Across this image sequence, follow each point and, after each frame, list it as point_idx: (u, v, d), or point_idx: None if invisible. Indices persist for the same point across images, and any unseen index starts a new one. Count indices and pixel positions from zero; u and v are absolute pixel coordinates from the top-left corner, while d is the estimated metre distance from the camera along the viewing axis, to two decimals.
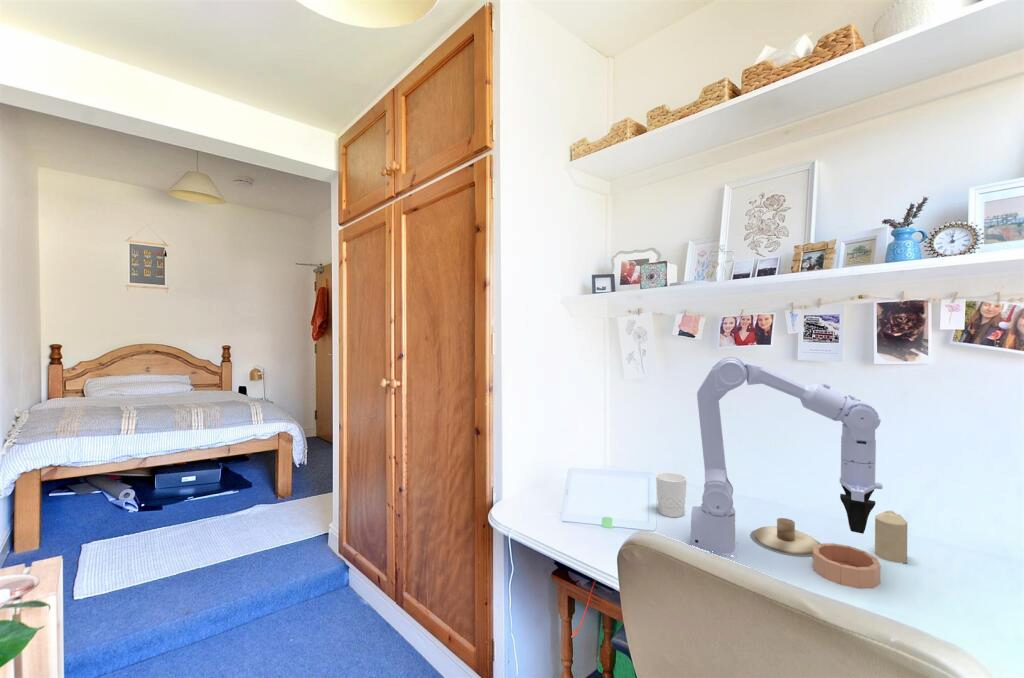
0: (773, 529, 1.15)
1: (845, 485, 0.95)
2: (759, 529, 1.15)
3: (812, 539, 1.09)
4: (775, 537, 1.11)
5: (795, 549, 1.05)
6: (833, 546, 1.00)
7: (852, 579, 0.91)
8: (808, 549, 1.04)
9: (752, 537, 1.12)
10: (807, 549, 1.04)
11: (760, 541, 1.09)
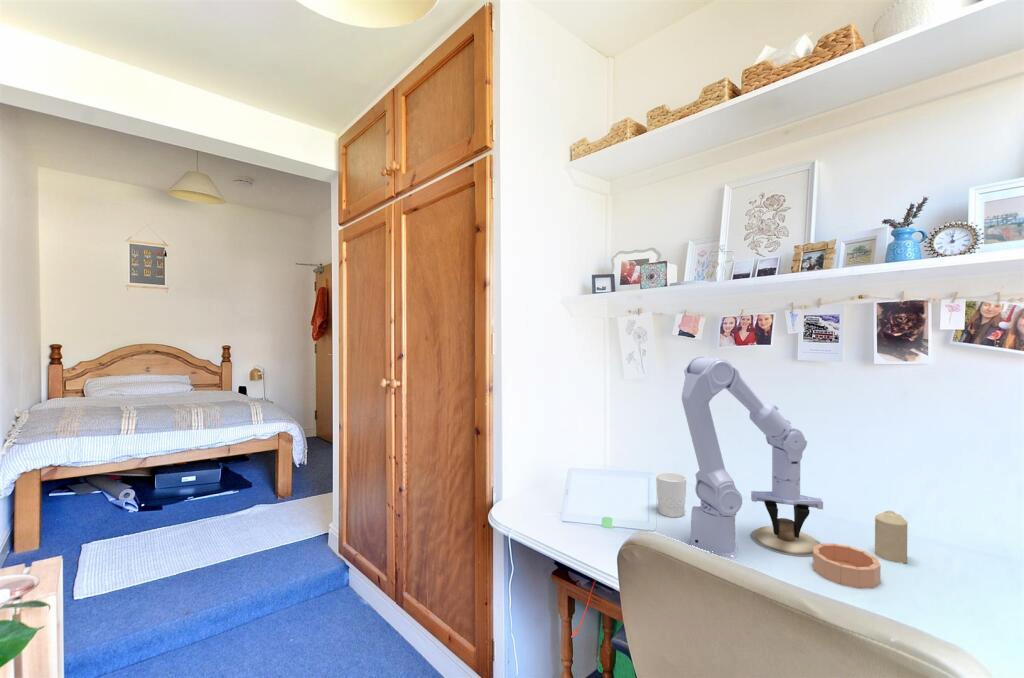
0: None
1: None
2: (759, 529, 1.15)
3: (812, 539, 1.09)
4: (775, 537, 1.11)
5: (795, 549, 1.05)
6: (833, 546, 1.00)
7: (852, 579, 0.91)
8: (808, 549, 1.04)
9: (752, 537, 1.12)
10: (807, 549, 1.04)
11: (760, 541, 1.09)
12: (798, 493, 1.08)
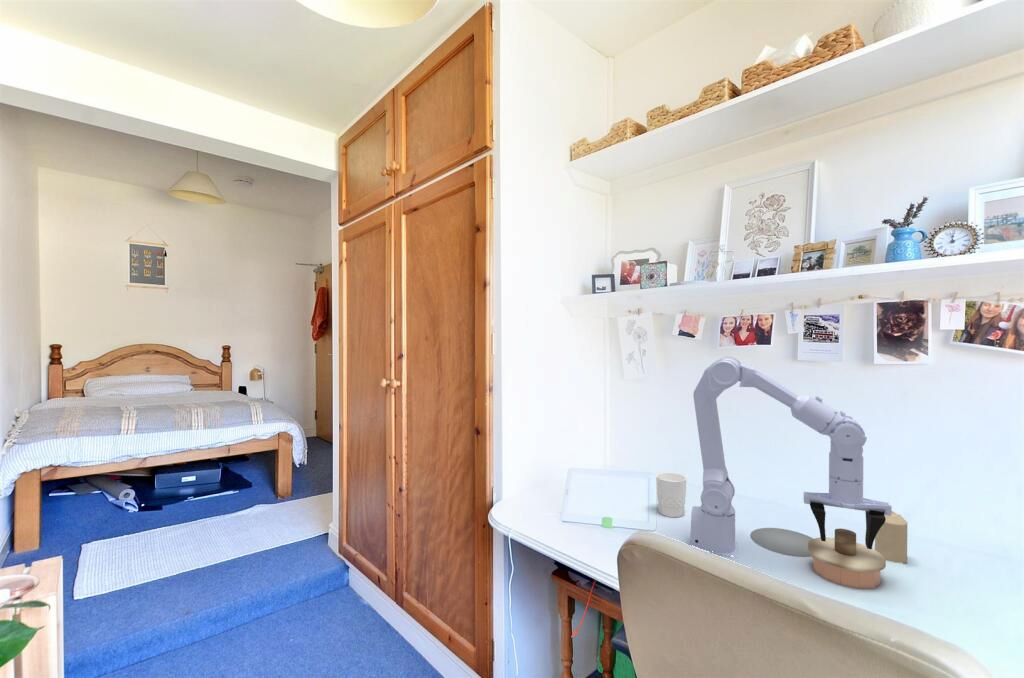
0: (829, 541, 1.01)
1: None
2: (813, 540, 1.01)
3: (877, 554, 0.95)
4: (832, 550, 0.96)
5: (858, 565, 0.90)
6: None
7: (852, 579, 0.91)
8: (873, 566, 0.90)
9: (752, 537, 1.12)
10: (872, 566, 0.90)
11: (815, 554, 0.95)
12: (860, 496, 0.93)
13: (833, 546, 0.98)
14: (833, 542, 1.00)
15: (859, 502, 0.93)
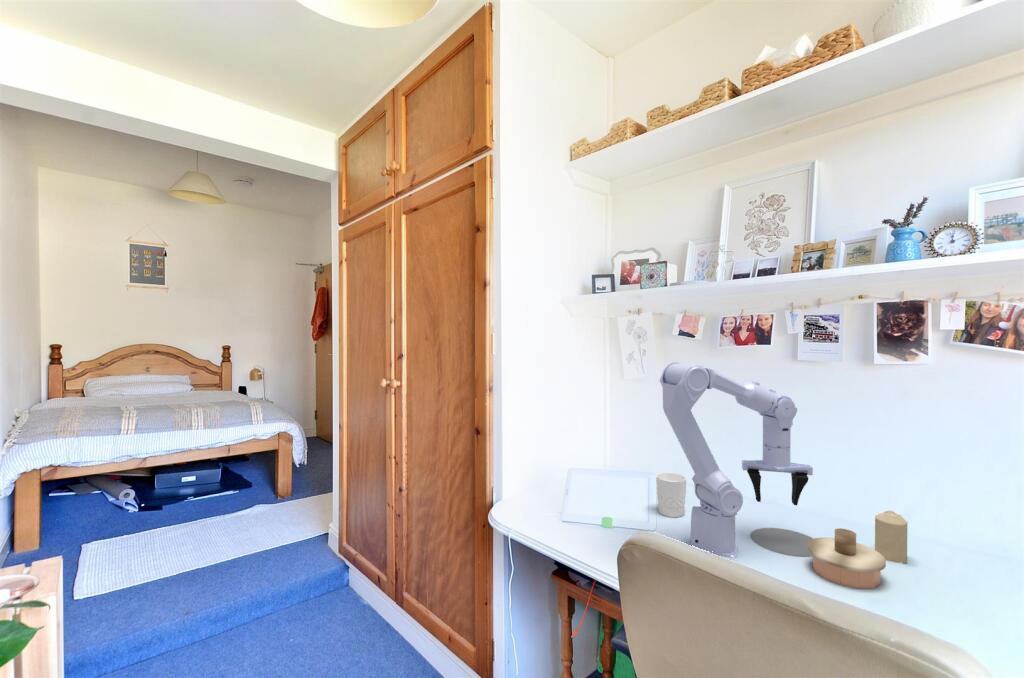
0: (829, 541, 1.01)
1: None
2: (813, 540, 1.01)
3: (877, 554, 0.95)
4: (832, 550, 0.96)
5: (858, 565, 0.90)
6: None
7: (852, 579, 0.91)
8: (873, 566, 0.90)
9: (752, 537, 1.12)
10: (872, 566, 0.90)
11: (815, 554, 0.95)
12: (789, 460, 1.08)
13: (833, 546, 0.98)
14: (833, 542, 1.00)
15: (787, 465, 1.08)
